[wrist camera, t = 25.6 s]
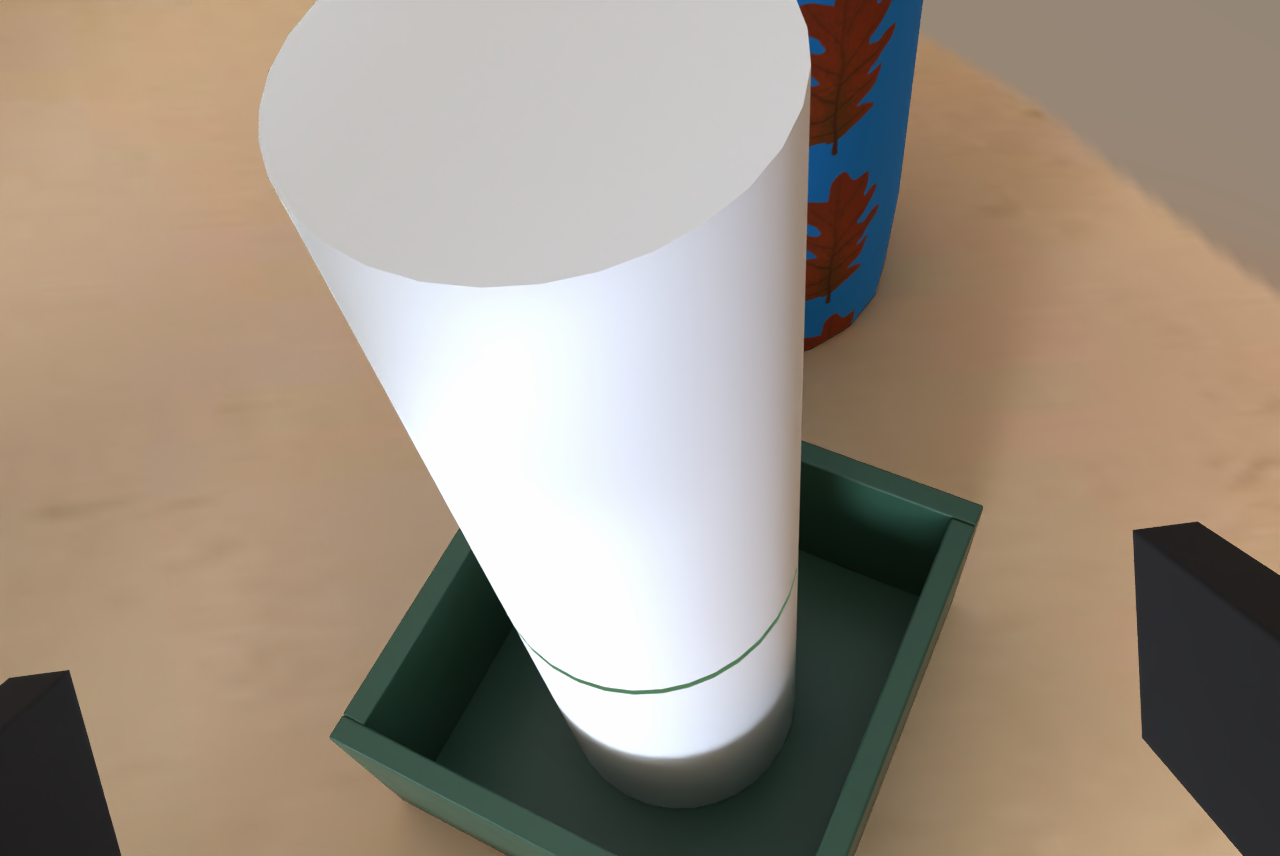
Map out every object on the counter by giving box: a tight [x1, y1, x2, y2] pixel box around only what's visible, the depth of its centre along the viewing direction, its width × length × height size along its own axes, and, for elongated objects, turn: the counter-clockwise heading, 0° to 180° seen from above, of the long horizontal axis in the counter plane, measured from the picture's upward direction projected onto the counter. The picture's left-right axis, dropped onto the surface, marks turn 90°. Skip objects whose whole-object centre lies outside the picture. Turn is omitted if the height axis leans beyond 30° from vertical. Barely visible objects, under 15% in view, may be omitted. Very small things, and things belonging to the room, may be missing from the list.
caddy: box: [330, 440, 983, 856], centre depth 33 cm, size 13×13×7 cm
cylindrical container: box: [259, 0, 811, 808], centre depth 25 cm, size 7×7×25 cm
